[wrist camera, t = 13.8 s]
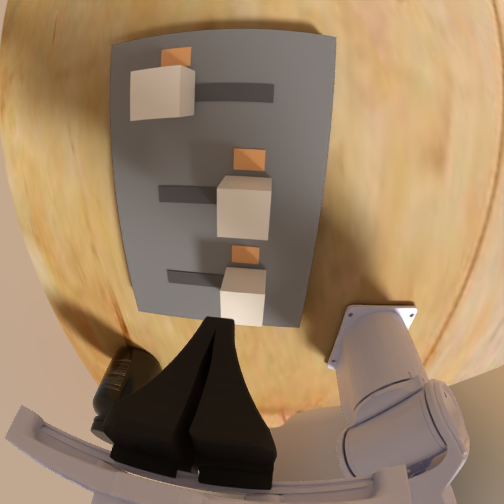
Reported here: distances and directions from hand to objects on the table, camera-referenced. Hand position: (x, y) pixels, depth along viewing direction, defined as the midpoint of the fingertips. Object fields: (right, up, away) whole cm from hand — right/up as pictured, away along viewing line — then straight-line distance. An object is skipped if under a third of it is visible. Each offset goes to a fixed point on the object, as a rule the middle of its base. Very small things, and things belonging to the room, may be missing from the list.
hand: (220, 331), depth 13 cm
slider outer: (-4, +14, +2) cm, 14 cm away
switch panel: (-1, +9, +7) cm, 11 cm away
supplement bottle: (-13, -10, +19) cm, 25 cm away
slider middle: (+1, +7, +5) cm, 9 cm away
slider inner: (+1, +1, +9) cm, 9 cm away
